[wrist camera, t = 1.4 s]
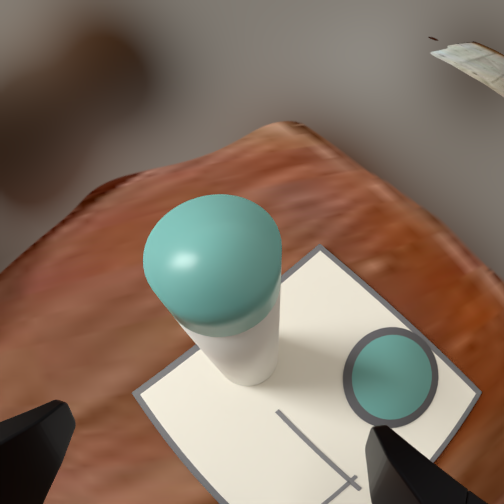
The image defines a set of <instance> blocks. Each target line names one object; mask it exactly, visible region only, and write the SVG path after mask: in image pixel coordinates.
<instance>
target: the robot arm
mask: <svg viewBox="0 0 504 504" xmlns="http://www.w3.org/2000/svg"><path fill="white" fill-rule="evenodd" d="M74 429H75V419H74V417H73V415H72V413H71V410H70V408H69V406H68V404H67V403H66V402H63V401H60V400H53V401H51V402H49V403H46V404H44V405H42V406H39V407H37V408H34V409H32V410H30V411H27V412H25V413H22V414H20V415H17V416H15V417H12V418H10V419H7V420H5V421H2V422H0V504H43V502H44V500H45V498H46V496H47V494H48V491H49V489H50V487H51V485H52V483H53V481H54V479H55V476H56V474H57V472H58V470H59V468H60V466H61V464H62V461H63V459H64V456H65V453H66V451H67V448H68V445H69V442H70V440H71V437H72V434H73V432H74ZM365 455H366V463H367V472H368V481H369V490H370V497H371V502H372V504H488V503H486V502H485V501H483V500H482V499H480V498H479V497H478V496H476V495H475V494H473V493H472V492H471V491H468V489H467V488H465V487H464V486H463V485H461V484H460V483H459V482H457V481H456V480H455V479H453V478H452V477H451V476H450V475H448V474H447V473H446V472H444V471H443V470H442V469H441V468H439V467H438V466H437V465H436V464H434V463H433V462H432V461H430V460H429V459H428V458H427V457H425V456H424V455H423V454H422V453H420V452H419V451H418V450H417V449H416V448H414V447H413V446H412V445H411V444H409V443H408V442H407V441H406V440H404V439H403V438H402V437H401V436H400V435H398V434H397V433H396V432H395V431H394V430H392V429H391V428H390V427H389V426H387V425H378V426H373V427H372V428H371V429H370V432H369V436H368V439H367V442H366V446H365Z"/></svg>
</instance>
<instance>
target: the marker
mask: <svg viewBox="0 0 504 504" xmlns="http://www.w3.org/2000/svg"><path fill="white" fill-rule="evenodd" d="M281 257H282V245H281V237H280V233H279V230H278V227H277V225H276V224H275V222H274V220H273V219H272V217H271V216H270V215H269V214H268V213H267V212H266V211H265V210H264V209H263V208H261V207H260V206H259V205H257V204H255V203H254V202H252V201H250V200H247V199H245V198H241V197H238V196H233V195H222V194H218V195H207V196H202V197H198V198H195V199H192V200H189V201H187V202H185V203H182V204H180V205H179V206H177V207H175V208H174V209H172V210H171V211H170V212H168V213H167V214H166V215H165V216H164V217H163V218H162V219H161V220H160V221H159V222H158V223H157V224H156V226H155V227H154V229H153V230H152V232H151V233H150V235H149V237H148V240H147V242H146V245H145V249H144V255H143V266H144V272H145V276H146V278H147V281H148V283H149V285H150V286H151V288H152V290H153V291H154V292H155V294H156V295H157V296H158V297H159V299H160V300H161V301H162V303H163V304H164V305H165V306H166V308H167V309H168V310H169V311H170V313H171V314H172V315H173V316H174V318H175V319H176V320H177V321H178V323H179V324H180V325H181V326H182V328H183V329H184V330H185V331H186V332H187V334H188V335H189V336H190V337H191V338H192V340H193V341H194V342H195V343H196V344H197V345H198V347H199V348H200V349H201V350H202V351H203V352H204V354H205V355H206V356H207V357H208V358H209V359H210V361H211V362H212V363H213V364H214V365H215V366H216V367H217V368H218V370H219V371H220V372H221V373H222V374H223V375H224V376H225V377H226V378H227V379H228V380H229V381H231V382H233V383H235V384H237V385H241V386H254V385H257V384H260V383H262V382H264V381H265V380H267V379H268V378H269V377H270V376H271V375H272V374H273V372H274V370H275V368H276V366H277V362H278V348H279V323H280V294H281Z"/></svg>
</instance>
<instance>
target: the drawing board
mask: <svg viewBox="0 0 504 504" xmlns="http://www.w3.org/2000/svg"><path fill="white" fill-rule="evenodd" d="M481 393H482V392H481V391H480V390H479V389H478V388H477V387H476V386H475V385H474V384H473V383H472V382H471V381H470V380H469V379H468V378H467V377H466V376H465V375H464V374H463V373H462V372H461V371H460V370H459V369H458V368H457V367H456V366H455V365H454V364H453V363H452V362H451V361H450V360H449V359H448V358H447V357H446V356H445V355H444V354H443V353H442V352H441V351H440V350H439V349H438V348H437V347H436V346H435V345H433V344H432V343H431V342H430V341H429V340H428V339H427V338H426V337H425V336H424V335H423V334H422V333H421V332H420V331H419V330H417V329H416V328H415V327H414V326H413V325H412V324H411V323H410V322H409V321H408V320H407V319H406V318H404V317H403V316H402V315H401V314H400V313H399V312H398V311H397V310H396V309H395V308H393V307H392V306H391V305H390V304H389V303H388V302H387V301H386V300H384V299H383V298H382V297H381V296H380V295H379V294H378V293H377V292H375V291H374V290H373V289H372V288H371V287H370V286H369V285H367V284H366V283H365V282H364V281H363V280H362V279H361V278H359V277H358V276H357V275H356V274H355V273H354V272H353V271H351V270H350V269H349V268H348V267H347V266H346V265H344V264H343V263H342V262H341V261H340V260H338V259H337V258H336V257H335V256H334V255H333V254H331V253H330V252H329V251H328V250H327V249H325V248H324V247H323V246H322V245H321V244H319V245H318V246H316V247H315V248H314V249H313V250H312V251H311V252H309V253H308V254H307V255H306V256H305V257H303V258H302V259H301V260H300V261H299V262H297V263H296V264H295V265H294V266H293V267H291V268H290V269H289V270H288V271H287V272H285V273H284V274H283V275H282V276H281V294H280V323H279V348H278V362H277V366H276V368H275V370H274V372H273V374H272V375H271V376H270V377H269V378H268V379H267V380H265V381H264V382H262V383H260V384H257V385H254V386H241V385H237V384H235V383H233V382H231V381H229V380H228V379H227V378H226V377H225V376H224V375H223V374H222V373H221V372H220V371H219V370H218V368H217V367H216V366H215V365H214V364H213V363H212V362H211V361H210V359H209V358H208V357H207V356H206V355H205V354H204V352H203V351H202V350H201V349H200V348H199V347H198V345H197V344H196V345H194V346H193V347H192V348H191V349H189V350H188V351H187V352H185V353H184V354H183V355H181V356H180V357H179V358H178V359H176V360H175V361H174V362H172V363H171V364H170V365H168V366H167V367H166V368H164V369H163V370H162V371H160V372H159V373H158V374H156V375H155V376H154V377H152V378H151V379H150V380H148V381H147V382H146V383H144V384H143V385H142V386H140V387H139V388H138V389H136V390H135V391H133V392H132V394H133V396H134V397H135V399H136V400H137V402H138V403H139V405H140V406H141V408H142V409H143V410H144V412H145V413H146V415H147V416H148V418H149V419H150V420H151V422H152V423H153V425H154V426H155V427H156V429H157V430H158V431H159V433H160V434H161V435H162V437H163V438H164V439H165V441H166V442H167V443H168V445H169V446H170V447H171V448H172V450H173V451H174V452H175V454H176V455H177V456H178V457H179V458H180V460H181V461H182V462H183V463H184V465H185V466H186V467H187V468H188V469H189V470H190V472H191V473H192V474H193V475H194V476H195V477H196V478H197V480H198V481H199V482H200V483H201V484H202V485H203V486H204V487H205V488H206V490H207V491H208V492H209V493H210V494H211V495H212V496H213V497H214V498H215V499H216V500H217V501H218V502H219V503H220V504H372V502H371V497H370V490H369V481H368V472H367V463H366V455H365V446H366V442H367V439H368V436H369V432H370V429H371V428H372V427H373V426H378V425H387V426H389V427H390V428H391V429H392V430H394V431H395V432H396V433H397V434H398V435H400V436H401V437H402V438H403V439H404V440H406V441H407V442H408V443H409V444H411V445H412V446H413V447H414V448H416V449H417V450H418V451H419V452H420V453H422V454H423V455H424V456H425V457H427V458H428V459H429V460H430V461H432V462H433V463H434V461H435V460H436V459H437V458H438V456H439V455H440V454H441V453H442V451H443V450H444V449H445V447H446V446H447V445H448V443H449V442H450V441H451V439H452V438H453V436H454V435H455V434H456V432H457V431H458V429H459V428H460V426H461V425H462V423H463V422H464V420H465V419H466V417H467V416H468V414H469V413H470V411H471V410H472V408H473V406H474V405H475V403H476V401H477V400H478V398H479V396H480V395H481Z"/></svg>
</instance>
